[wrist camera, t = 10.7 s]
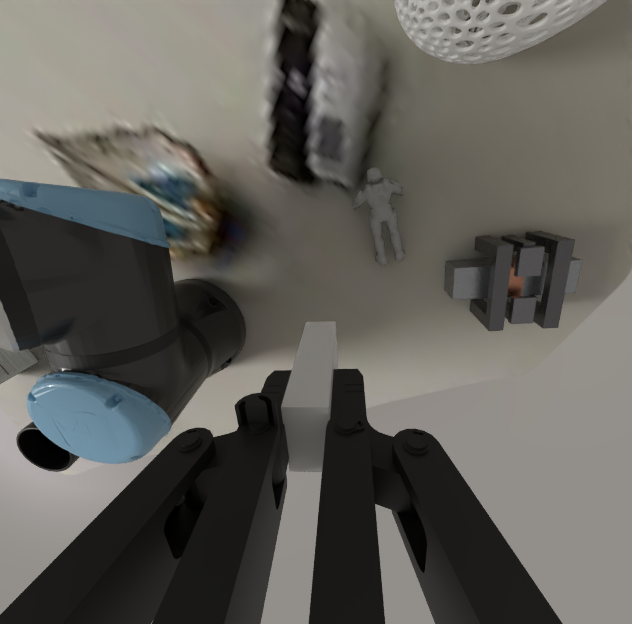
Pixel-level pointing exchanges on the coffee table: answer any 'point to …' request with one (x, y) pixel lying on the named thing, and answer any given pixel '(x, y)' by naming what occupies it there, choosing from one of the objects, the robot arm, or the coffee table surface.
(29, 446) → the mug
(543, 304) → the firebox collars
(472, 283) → the orange-banded grey block
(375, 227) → the soldier figurine
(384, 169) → the coffee table surface
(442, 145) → the coffee table surface
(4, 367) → the supplement box
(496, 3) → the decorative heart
